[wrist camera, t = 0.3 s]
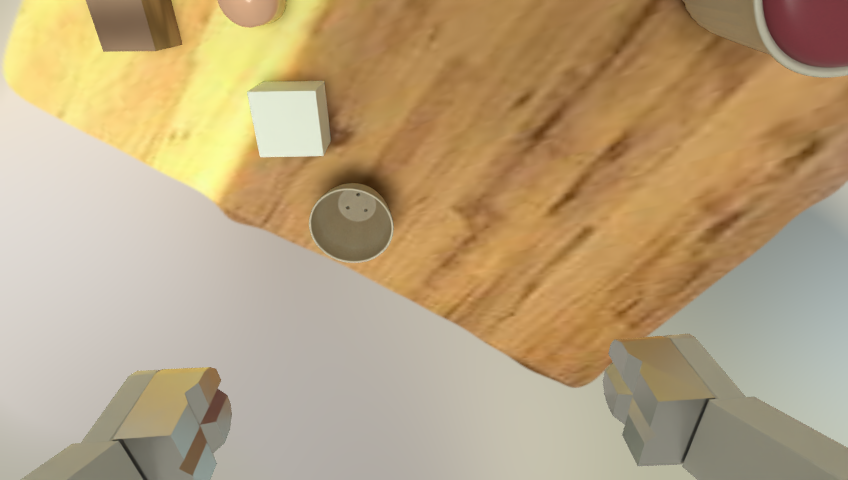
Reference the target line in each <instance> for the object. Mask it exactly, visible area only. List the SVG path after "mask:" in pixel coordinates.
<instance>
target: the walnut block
mask: <svg viewBox="0 0 848 480" xmlns="http://www.w3.org/2000/svg"><path fill="white" fill-rule="evenodd" d="M86 2H87V5H88V8H89V11H90V14H91V17H92V19H93V22H94V25H95V28H96V31H97V34H98V37H99V40H100V43H101V46H102V49H103V51H157V50H162V49H166V48H170V47H174V46H178V45H182V41H181V37H180V33H179V29H178V25H177V22H176V18H175V14H174V10H173V6H172V2H171V0H86Z"/></svg>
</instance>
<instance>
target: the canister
mask: <svg viewBox="0 0 848 480" xmlns="http://www.w3.org/2000/svg"><path fill="white" fill-rule="evenodd" d="M682 1H683V2H684V3H685V8H686V10H687V11H688V12H689V13H690V15H691V17H692V19H694V20H696V22H697V23H698V24H699V25H700V26H701V27H703V28H705V29H706V30H708V31H710V32H712V33H714V34H716V35H719V36H721V37H723V38H726V39H728V40H731V41H734V42H736V43H739V44H742V45H745V46H747V47H750V48H753V49H756V50H759V51H761V52H764V53H767V54H770V55H771V56H772V57H773V58H774V59H775V60H776V61H777V62H778V63H780V64H781V65H783V66H784V67H786V68H787V69H789V70H791V71H794V72H796V73H799V74H802V75H807V76H812V77H839V76H846V75H848V0H682Z"/></svg>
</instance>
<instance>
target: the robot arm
mask: <svg viewBox="0 0 848 480" xmlns="http://www.w3.org/2000/svg"><path fill="white" fill-rule="evenodd" d="M609 356H610V357H611V359H612V361H613V363H612V364H610V365H609V366H608V367H607V368H606V369H605V373H604V379H603V386H604V395H605V397H606V401H607V404H608V407H609V409H610V411H611V413H612V415H613V416H614V417H615V418H617V419H618V420H619V421H621V422H622V423H623V424H625V427H624V431H623V437H624V439H625V441H626V443H627V445H628V447H629V449H630V451H631V453H632V455H633V457H634V459H635V461H636V463H637V465H638V466H653V465H677V464H683V468H685V469H686V470H687V471H688V472H689V473H690V474H691V475H693V476H694V477H695V478H696V479H697V480H848V448H847V447H845V446H843V445H842V444H840V443H838V442H836V441H834V440H833V439H831V438H828V437H827V436H825V435H823V434H821V433H820V432H818V431H816V430H814V429H812V428H810V427H809V426H807V425H805V424H803V423H801V422H799V421H798V420H796V419H794V418H792V417H790V416H789V415H787V414H785V413H783V412H781V411H779V410H778V409H776V408H774V407H772V406H770V405H768V404H767V403H765V402H763V401H761V400H759V399H757V398H756V397H746V396H745V395H744V394H743V393H742V392H741V391H740V389H739V388H738V387H737V386H736V385H735V383H734V382H733V381H732V380H731V379H730V378H729V377H728V375H727V374H726V373H725V372H724V371H723V369H722V368H721V367H720V366H719V365H718V363H717V362H716V361H715V360H714V359H713V358H712V357H711V355H710V354H709V353H708V352H707V351H706V349H705V348H704V347H703V346H702V345H701V344H700V342H699V341H698V340H697V339H696V338H695V337H694V336H692V335H690V334H679V335H667V336H655V337H642V338H629V339H616V340H614V341H613V342H612V343H611V345H610V350H609ZM220 382H221V379H220V377H219V374H218V372H217V370H216V369H215V368H211V367H207V368H183V369H162V370H148V371H137V372H135V373H133V374H131V375H130V376H129V377H128V378H127V379H126V381H125V382H124V384H123V385H122V386H121V388H120V389H119V390H118V392H117V394H116V395H115V396H114V397H113V399H112V400H111V402H110V403H109V405H108V406H107V407H106V409H105V410H104V412H103V413H102V414H101V416H100V417H99V418H98V420H97V421H96V423H95V424H94V425H93V427H92V428H91V430H90V431H89V432H88V434H87V435H86V436H85V438H84V439H83V441H82V442H81V443H75V444H71V445H70V446H69V447H67V448H66V449H64V450H63V451H61V452H60V453H58V454H57V455H55V456H54V457H53V458H51V459H50V460H48V461H47V462H45V463H44V464H42V465H41V466H40V467H38V468H37V469H35V470H34V471H32V472H31V473H29V474H28V475H27V476H25V477H24V478H22V479H21V480H210V479H211V477H212V474H213V472H214V469H215V466H216V464H217V463H216V460H215V457H214V455H213V453H214V452H215V451H216V450H217V449H218V448H220V447H221V446H222V445H223V444H224V443H225V441H226V438H227V436H228V433H229V430H230V425H231V417H232V412H231V404H230V401H229V399H228V396H227V395H226V394H225V393H223V392H222V391H220V390H218V389H217V388H218V386H219V384H220Z"/></svg>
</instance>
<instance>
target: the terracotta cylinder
mask: <svg viewBox="0 0 848 480" xmlns="http://www.w3.org/2000/svg"><path fill="white" fill-rule="evenodd" d="M218 3H219V6H220V8H221V9H222V11H223V13H224V14H225V15H226V16H227V17H228V18H229V19H230V20H231V21H232V22H234V23H236V24H238V25H240V26H243V27H255V26H259V25H263V24H268V23H272V22H275V21H276V20H278V19H279V18H280V17H281V16H282V15H283V13H284V11H285V8H286V0H218Z"/></svg>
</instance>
